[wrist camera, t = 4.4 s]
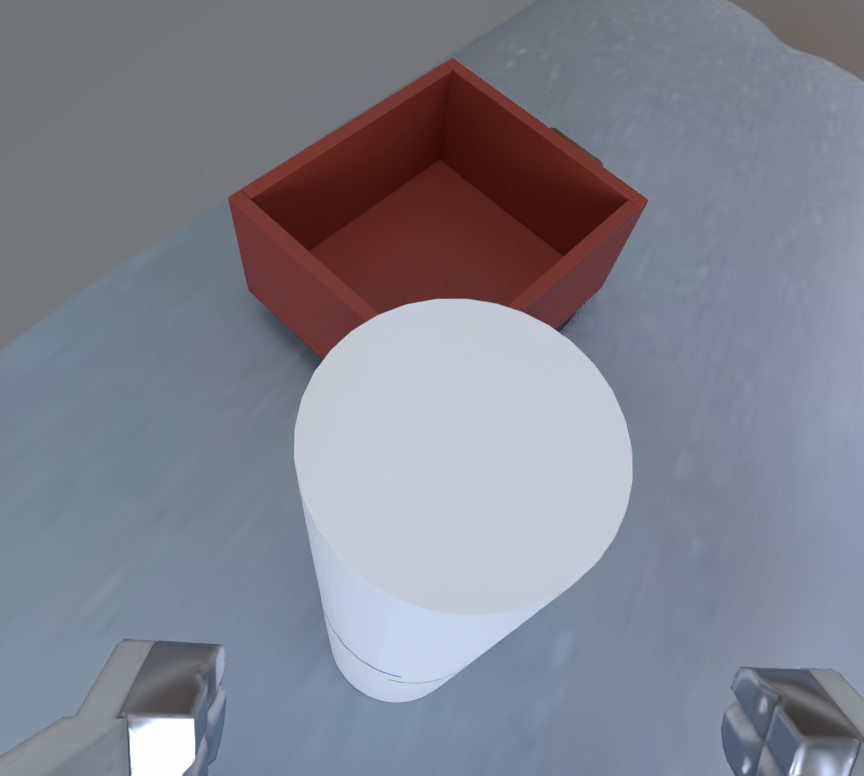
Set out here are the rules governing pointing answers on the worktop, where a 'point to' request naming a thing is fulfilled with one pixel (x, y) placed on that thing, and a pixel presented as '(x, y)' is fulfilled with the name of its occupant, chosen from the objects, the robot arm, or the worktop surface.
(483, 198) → the toy cart
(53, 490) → the worktop surface
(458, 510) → the cylindrical container
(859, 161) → the worktop surface
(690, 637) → the worktop surface
